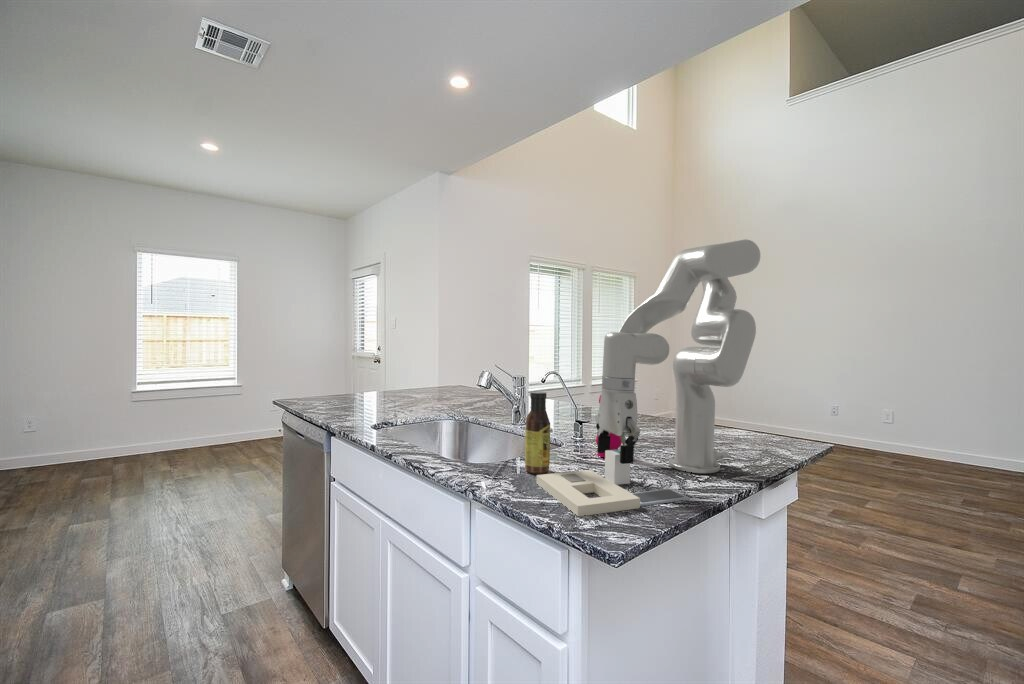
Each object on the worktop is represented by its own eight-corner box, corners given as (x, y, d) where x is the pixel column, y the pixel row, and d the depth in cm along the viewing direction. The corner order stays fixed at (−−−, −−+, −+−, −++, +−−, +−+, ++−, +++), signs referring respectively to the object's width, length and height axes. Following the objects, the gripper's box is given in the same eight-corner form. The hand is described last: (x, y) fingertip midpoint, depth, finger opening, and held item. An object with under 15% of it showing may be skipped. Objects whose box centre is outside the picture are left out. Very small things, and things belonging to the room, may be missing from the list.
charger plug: (619, 477, 113) (620, 447, 113) (629, 483, 109) (630, 452, 109) (604, 479, 112) (605, 449, 112) (614, 485, 108) (614, 453, 108)
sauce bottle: (547, 475, 114) (549, 394, 113) (522, 473, 115) (523, 393, 115) (551, 468, 120) (552, 391, 120) (527, 466, 121) (528, 390, 121)
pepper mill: (593, 457, 131) (594, 386, 130) (598, 451, 137) (599, 383, 137) (619, 460, 128) (620, 388, 128) (623, 454, 135) (624, 385, 134)
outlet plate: (590, 478, 113) (590, 469, 113) (639, 508, 94) (640, 497, 94) (536, 483, 108) (536, 474, 108) (577, 516, 89) (577, 505, 89)
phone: (670, 492, 105) (670, 488, 105) (688, 502, 99) (688, 497, 99) (624, 498, 101) (624, 493, 101) (640, 508, 95) (640, 503, 95)
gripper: (654, 389, 103) (650, 467, 103) (612, 381, 119) (608, 448, 119) (625, 389, 100) (621, 468, 101) (586, 381, 117) (582, 449, 117)
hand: (614, 457), depth 110 cm, fingers open, 9 cm apart
